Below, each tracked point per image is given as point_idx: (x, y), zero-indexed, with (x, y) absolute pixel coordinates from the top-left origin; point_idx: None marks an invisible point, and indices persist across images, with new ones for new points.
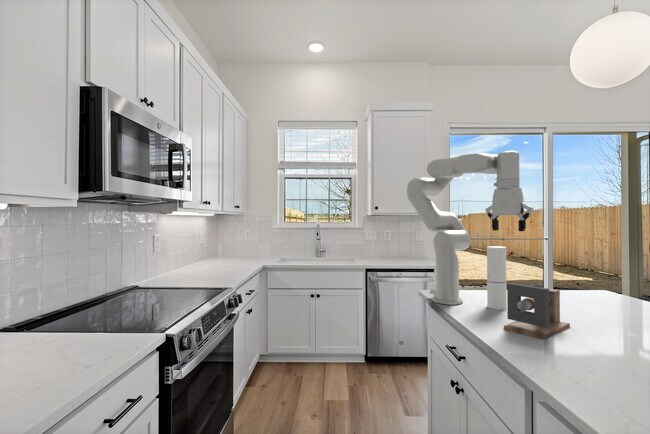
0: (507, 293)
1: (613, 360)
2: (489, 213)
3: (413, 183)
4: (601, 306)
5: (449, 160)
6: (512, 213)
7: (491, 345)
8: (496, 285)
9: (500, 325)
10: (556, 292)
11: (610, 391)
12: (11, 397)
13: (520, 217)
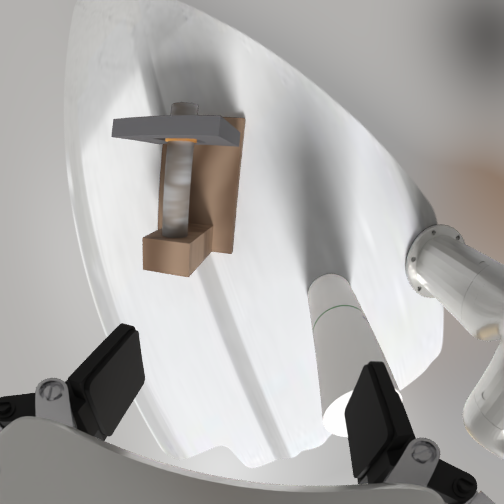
0: (227, 121)
1: (85, 116)
2: (461, 499)
3: None
4: (184, 414)
5: None
6: (68, 438)
7: (223, 24)
8: (333, 303)
9: (262, 141)
10: (144, 248)
11: (87, 29)
12: None
13: (55, 403)
